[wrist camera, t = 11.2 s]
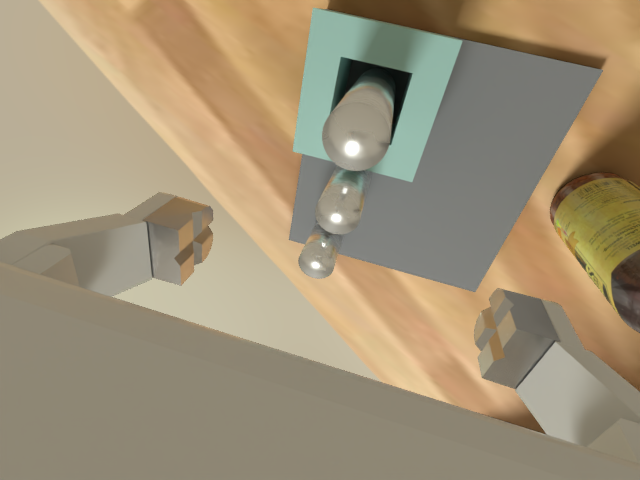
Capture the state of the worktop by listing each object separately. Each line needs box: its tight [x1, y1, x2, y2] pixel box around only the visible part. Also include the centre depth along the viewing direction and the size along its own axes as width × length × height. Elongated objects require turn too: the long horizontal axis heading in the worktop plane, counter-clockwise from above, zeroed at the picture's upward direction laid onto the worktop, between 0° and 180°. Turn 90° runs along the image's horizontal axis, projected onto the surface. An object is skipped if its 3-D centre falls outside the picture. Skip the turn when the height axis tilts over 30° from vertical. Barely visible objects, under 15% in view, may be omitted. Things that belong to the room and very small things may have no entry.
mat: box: [289, 9, 603, 292], centre depth 31 cm, size 21×20×1 cm
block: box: [293, 8, 463, 182], centre depth 26 cm, size 9×9×6 cm
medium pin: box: [315, 165, 372, 234], centre depth 28 cm, size 3×3×9 cm
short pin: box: [299, 222, 344, 279], centre depth 33 cm, size 3×3×6 cm
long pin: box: [322, 68, 396, 171], centre depth 22 cm, size 3×3×14 cm
